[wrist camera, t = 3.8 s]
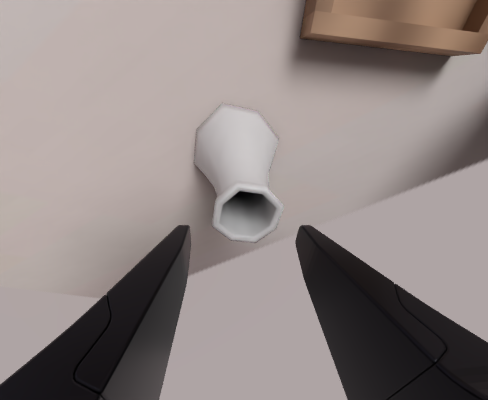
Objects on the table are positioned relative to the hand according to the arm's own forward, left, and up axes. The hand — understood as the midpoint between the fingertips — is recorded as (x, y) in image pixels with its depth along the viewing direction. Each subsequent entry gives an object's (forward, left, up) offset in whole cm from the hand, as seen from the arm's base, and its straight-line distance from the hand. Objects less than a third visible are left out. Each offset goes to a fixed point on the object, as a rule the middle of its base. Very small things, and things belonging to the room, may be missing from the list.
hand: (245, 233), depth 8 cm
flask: (0, 0, -11) cm, 11 cm away
